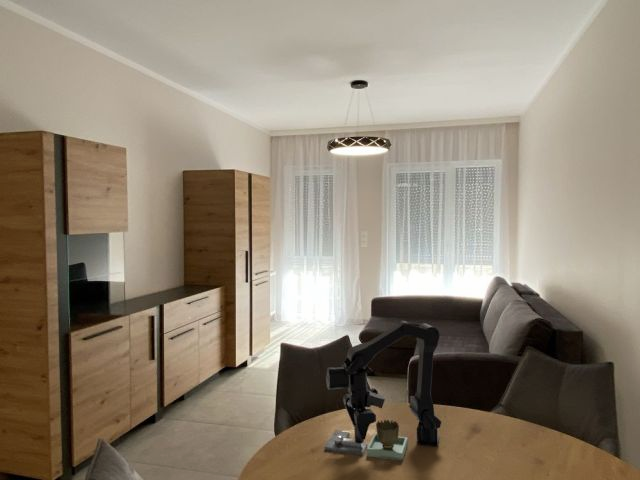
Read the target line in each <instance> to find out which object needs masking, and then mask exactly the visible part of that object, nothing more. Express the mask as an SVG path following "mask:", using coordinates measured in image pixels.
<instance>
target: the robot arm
mask: <svg viewBox="0 0 640 480" xmlns="http://www.w3.org/2000/svg"><path fill="white" fill-rule="evenodd" d="M406 336H411V337H414V338H416V343H417V347H418V351H419V353H418V364H417V365H418V367H417V382H416V383H417V384H416V392H415V394H414V396H413V395H410V396H409V401H410V402H409V406H408V408H409V409H410V413H412V415H413V416H415V418H416V420H417V421H418V424H417V426H416V440H417V444H418V445H424V446H429V447H430V446H431V447H438V445H439V440H440V436H439V429H440V428H441V425H442V421H441V420H440V419H439V418H438V417H437V416H436V415H435V406H434V402H433V398H432V394H431V393H432V381H433V365H434V354H435V353H434V352H435V351H436V350H437V348H438V345H439V340H440V331H439V330H438V329H437V328H436V327H434V326H433V325H430V324H428V323H421V324H419V323H415V322H414V323H413V322H408V321H405V320H400V321H399V322H398V323H396V324H395V325H394V326H392V327H390V328H388V329H387V330H386V331H384V332H382V333H381V334H378V336H375V338H373V339H371V340H369V341H368V342H362V343H359V344H356V345H354V346H351V347H350V348H349V349H348V350H347V354H346V357H345V359H344V360H343V362H342V363H341V366H338V367H326V368H327V369H326V370H327V371H326V375H325V381H326V387H327V389H328V390H339V389H346V388H347V391H348V393H346V394H345V395H344V396H343V399H342V400H343V404H344V407H345V410H346V412H347V414H348V416H349V419H350V421H351V423H352V425H353V427H354V425H355V424H356V426H357V429H358V431H359V434H360V436H361V439H362V440H364V441H365V440H366V438H367V433H368V430H369V427H370V426H371V424H374V423H377V415H376V414H375V412H374V411H373V410H372V409H371V406H374V407H376V408H379V409H383V406H384V404H385V401H386V400H385V399H386V398H385V397H384V396H383V395H382V394H380V393H378V390H377V389H376V388H374V387H371V389H370V390H369V389H368V378H367V376H368V374H373V372H374V370H373V369H371V368H370V366H369V365H368V364H370V362H371V361H373V359H374V358H375V356H376V355H377V354H379V353H380V352H382V351H383V350H385V349H387V348H388V347H390V346H392V345H393V344H395V343H396V342H398V341H399V340H401V339H402V338H404V337H406ZM348 386H349V387H348Z"/></svg>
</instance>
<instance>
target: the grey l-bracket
mask: <svg viewBox="0 0 640 480" xmlns="http://www.w3.org/2000/svg"><path fill="white" fill-rule="evenodd" d="M350 433H351V431H349V430H348V431H347V430H339V429H335V430H334V432H333V433H332V434H331V437H330V438H329V439H328V440H327V442H326V443H325V445H324V451H327V452H334V453H341V454H342V453H343V454H350V455H356V456H364V454H365V452H366V451H367V447H368V443H366V442H363V443H362V445H361V446H354V445H346V444H335V441H334V436H335V435H337V434H341V435H343V438H347V439H349V437H350V435H351V434H350Z"/></svg>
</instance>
